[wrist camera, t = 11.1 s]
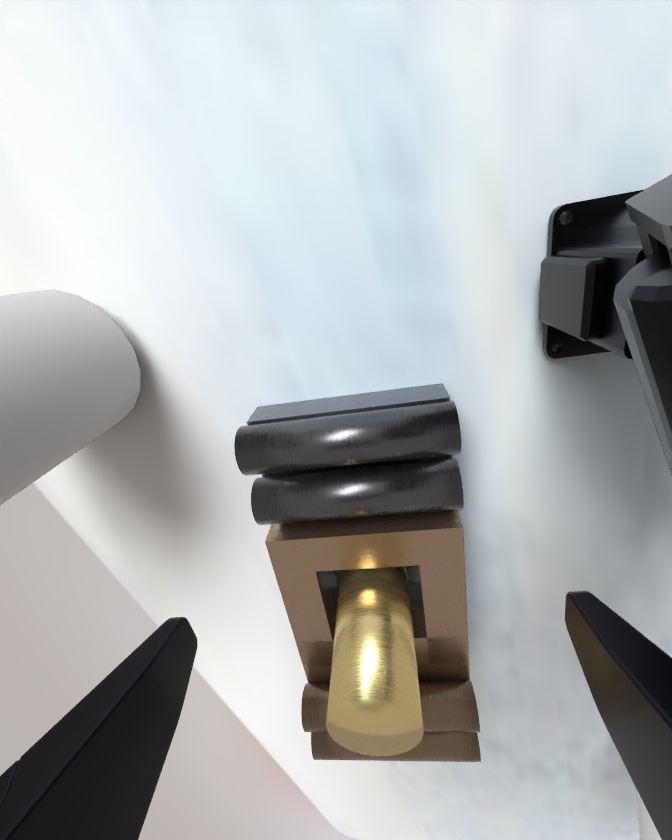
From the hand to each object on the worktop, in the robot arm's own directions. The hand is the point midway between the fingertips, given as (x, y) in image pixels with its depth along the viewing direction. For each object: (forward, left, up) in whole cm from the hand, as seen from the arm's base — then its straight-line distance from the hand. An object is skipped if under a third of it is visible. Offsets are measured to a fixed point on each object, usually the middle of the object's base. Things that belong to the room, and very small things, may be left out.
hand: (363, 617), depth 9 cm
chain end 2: (+1, +13, -13) cm, 19 cm away
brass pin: (+1, +10, -13) cm, 16 cm away
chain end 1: (+1, +7, -13) cm, 15 cm away
